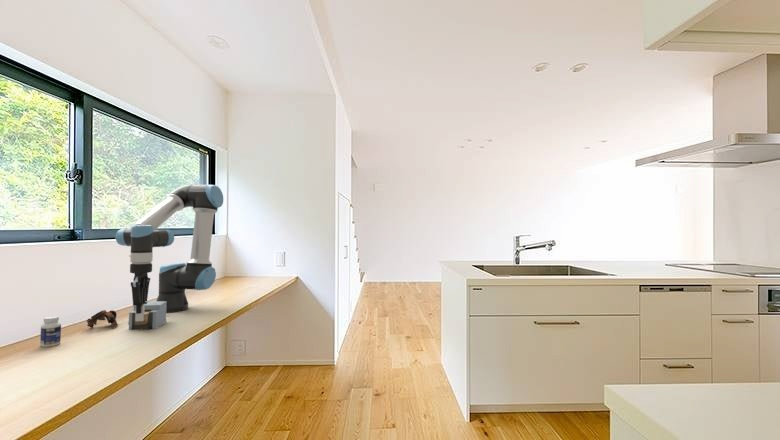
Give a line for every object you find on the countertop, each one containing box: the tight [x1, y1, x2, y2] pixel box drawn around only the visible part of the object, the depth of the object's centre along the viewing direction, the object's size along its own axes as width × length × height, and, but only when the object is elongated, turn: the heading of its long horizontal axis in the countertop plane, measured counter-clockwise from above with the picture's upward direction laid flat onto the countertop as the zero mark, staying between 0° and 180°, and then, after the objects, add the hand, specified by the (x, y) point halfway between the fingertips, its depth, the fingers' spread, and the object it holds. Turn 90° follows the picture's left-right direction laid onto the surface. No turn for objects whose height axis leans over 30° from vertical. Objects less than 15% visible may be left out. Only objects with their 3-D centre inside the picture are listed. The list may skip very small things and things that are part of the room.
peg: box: [135, 310, 152, 325], centre depth 159 cm, size 12×4×4 cm, turn 13°
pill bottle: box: [39, 315, 62, 348], centre depth 134 cm, size 5×5×10 cm
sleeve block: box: [128, 301, 167, 331], centre depth 161 cm, size 12×10×9 cm
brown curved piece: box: [86, 309, 118, 329], centre depth 157 cm, size 12×10×8 cm
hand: (139, 320), depth 152 cm, fingers closed
